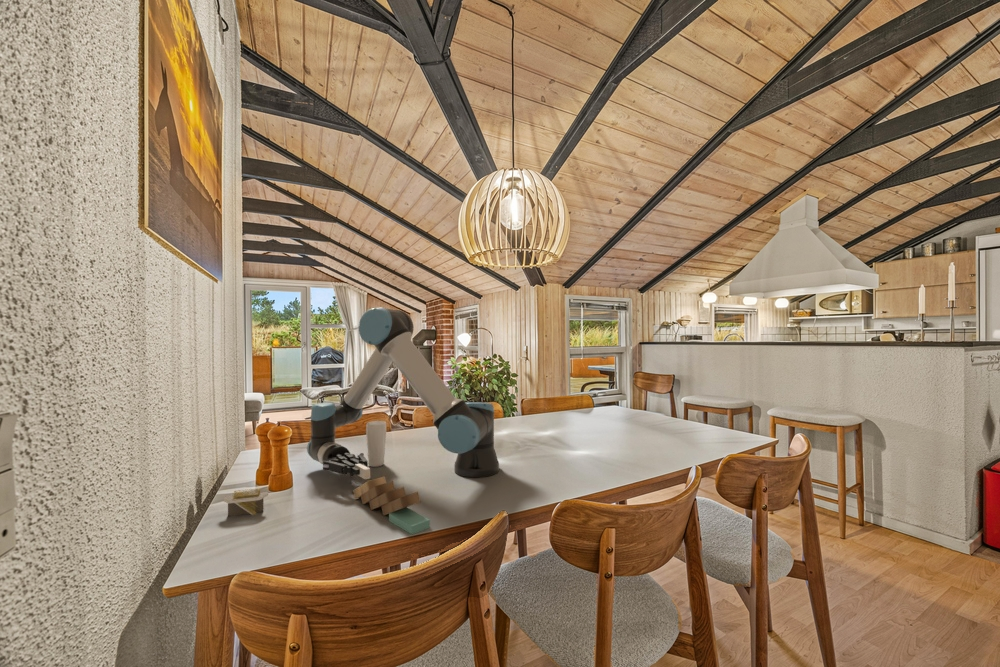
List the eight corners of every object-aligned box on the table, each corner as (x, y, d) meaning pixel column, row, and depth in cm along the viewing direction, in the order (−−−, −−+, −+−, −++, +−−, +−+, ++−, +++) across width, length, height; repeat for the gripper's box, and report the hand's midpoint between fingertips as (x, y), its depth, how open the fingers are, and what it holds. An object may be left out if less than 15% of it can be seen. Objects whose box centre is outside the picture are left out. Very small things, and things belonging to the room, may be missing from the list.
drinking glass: (370, 469, 139) (370, 425, 139) (363, 464, 144) (363, 422, 144) (389, 465, 143) (389, 422, 143) (381, 460, 148) (381, 419, 148)
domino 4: (398, 500, 107) (418, 491, 101) (400, 509, 106) (420, 501, 100) (381, 505, 103) (400, 497, 97) (383, 515, 102) (403, 507, 96)
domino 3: (386, 495, 110) (403, 487, 104) (388, 504, 109) (406, 496, 103) (369, 500, 107) (386, 492, 100) (371, 510, 106) (388, 502, 100)
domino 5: (406, 507, 103) (429, 519, 96) (406, 516, 103) (429, 529, 96) (389, 513, 100) (411, 526, 93) (389, 523, 100) (411, 537, 93)
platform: (279, 521, 100) (280, 495, 100) (193, 532, 95) (193, 504, 95) (288, 502, 112) (288, 479, 112) (211, 511, 106) (212, 486, 106)
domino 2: (377, 490, 114) (392, 481, 107) (379, 499, 113) (395, 490, 106) (360, 495, 110) (375, 486, 104) (362, 504, 109) (377, 495, 103)
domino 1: (370, 485, 117) (384, 476, 111) (372, 494, 116) (386, 485, 110) (353, 490, 114) (367, 481, 108) (355, 499, 113) (369, 490, 107)
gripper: (354, 463, 135) (388, 481, 118) (313, 472, 126) (344, 493, 109) (354, 440, 135) (388, 455, 118) (313, 448, 126) (344, 465, 109)
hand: (367, 474), depth 113 cm, fingers closed
